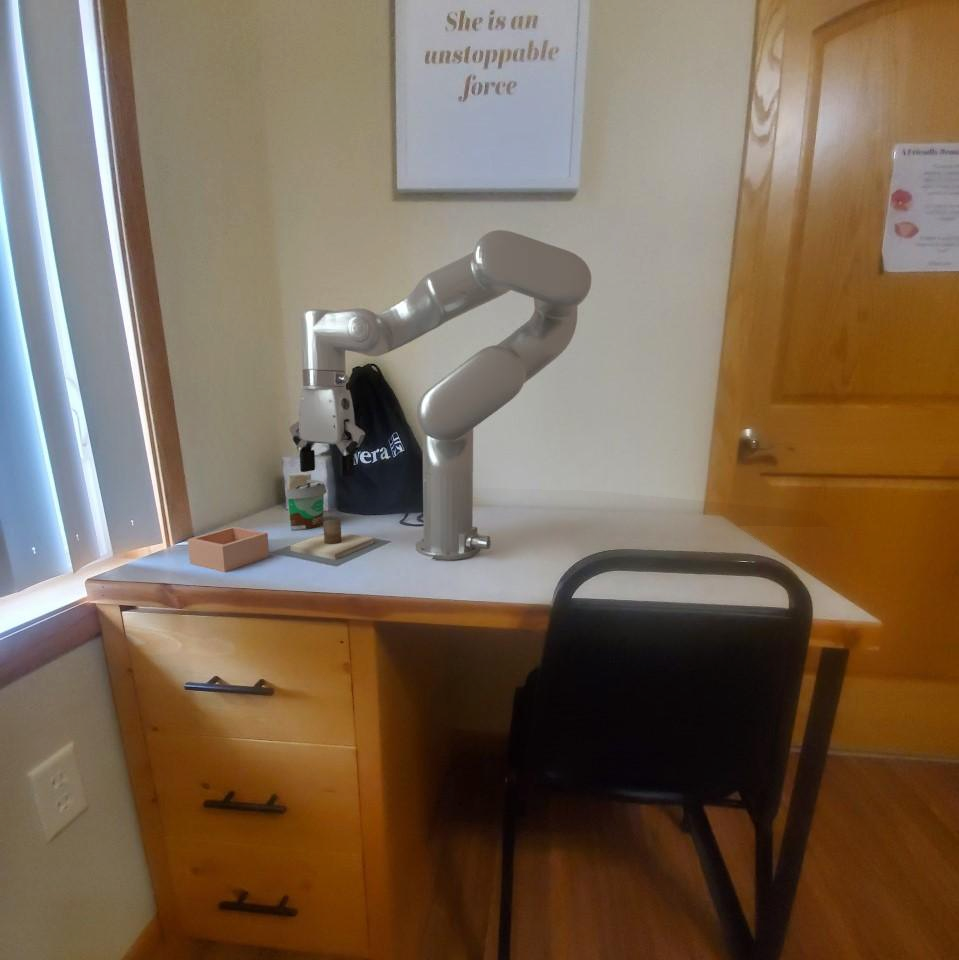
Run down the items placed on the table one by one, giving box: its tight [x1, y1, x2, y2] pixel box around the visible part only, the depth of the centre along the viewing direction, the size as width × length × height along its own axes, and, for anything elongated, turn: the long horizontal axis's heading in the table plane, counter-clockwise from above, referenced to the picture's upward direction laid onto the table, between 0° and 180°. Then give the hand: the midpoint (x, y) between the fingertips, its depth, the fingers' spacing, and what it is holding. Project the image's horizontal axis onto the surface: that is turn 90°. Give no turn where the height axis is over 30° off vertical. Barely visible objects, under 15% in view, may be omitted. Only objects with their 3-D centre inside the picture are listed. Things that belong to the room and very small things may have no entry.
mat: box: [269, 535, 392, 567], centre depth 94 cm, size 16×16×1 cm
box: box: [286, 471, 312, 519], centre depth 116 cm, size 5×4×11 cm
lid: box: [289, 519, 375, 560], centre depth 93 cm, size 11×11×5 cm
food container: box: [286, 479, 328, 532], centre depth 108 cm, size 12×6×10 cm, turn 179°
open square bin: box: [187, 526, 270, 573], centre depth 86 cm, size 9×9×5 cm
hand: (327, 473), depth 91 cm, fingers open, 9 cm apart
